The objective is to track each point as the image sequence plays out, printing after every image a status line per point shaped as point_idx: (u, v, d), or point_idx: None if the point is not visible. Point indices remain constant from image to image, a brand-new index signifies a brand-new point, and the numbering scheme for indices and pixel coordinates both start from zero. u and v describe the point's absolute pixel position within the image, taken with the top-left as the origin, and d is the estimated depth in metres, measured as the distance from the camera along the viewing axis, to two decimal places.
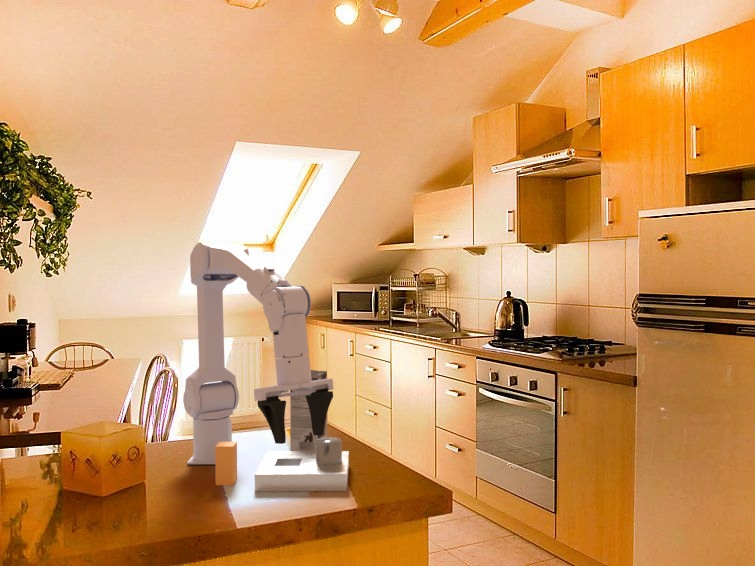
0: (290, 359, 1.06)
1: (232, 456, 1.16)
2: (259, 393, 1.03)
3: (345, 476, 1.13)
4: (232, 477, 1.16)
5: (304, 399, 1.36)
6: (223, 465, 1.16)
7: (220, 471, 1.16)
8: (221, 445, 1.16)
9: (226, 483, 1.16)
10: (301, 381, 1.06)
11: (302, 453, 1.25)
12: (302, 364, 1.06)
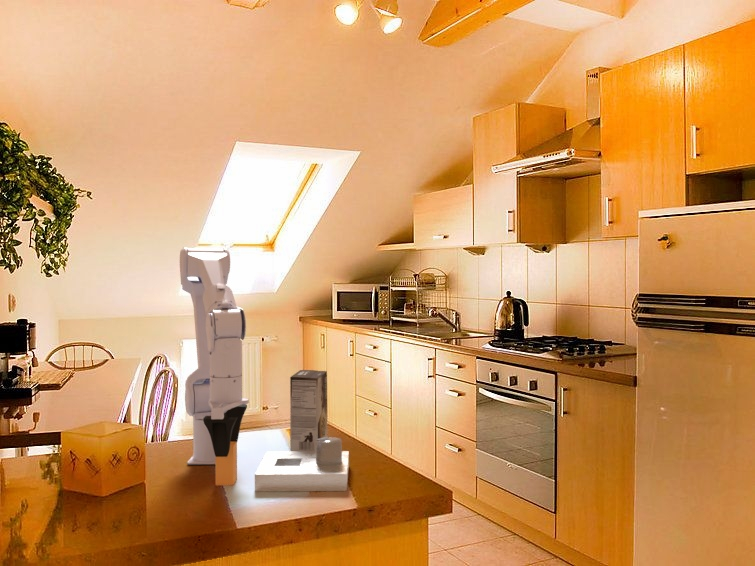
0: (236, 379, 1.15)
1: (232, 456, 1.16)
2: (220, 412, 1.10)
3: (345, 476, 1.13)
4: (232, 477, 1.16)
5: (304, 399, 1.36)
6: (223, 465, 1.16)
7: (220, 471, 1.16)
8: None
9: (226, 483, 1.16)
10: (241, 398, 1.17)
11: (302, 453, 1.25)
12: (241, 382, 1.17)
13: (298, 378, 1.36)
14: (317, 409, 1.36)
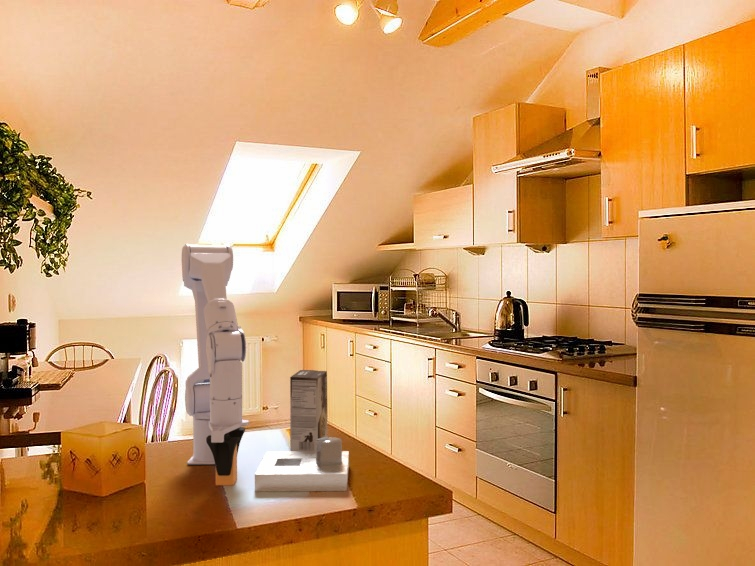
0: (236, 401, 1.15)
1: None
2: (220, 435, 1.10)
3: (345, 476, 1.13)
4: (232, 477, 1.16)
5: (304, 399, 1.36)
6: None
7: None
8: None
9: (226, 483, 1.16)
10: (241, 420, 1.17)
11: (302, 453, 1.25)
12: (241, 404, 1.17)
13: (298, 378, 1.36)
14: (317, 409, 1.36)
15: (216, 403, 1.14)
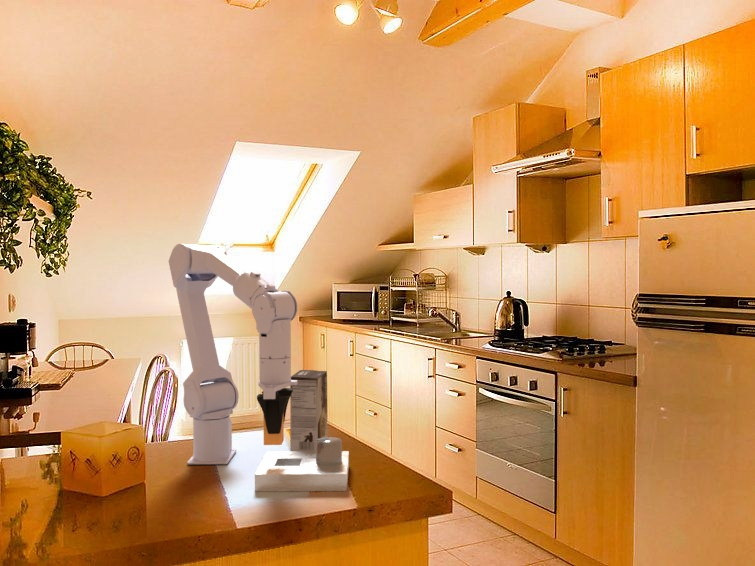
0: (285, 360, 1.17)
1: None
2: (272, 392, 1.11)
3: (345, 476, 1.13)
4: (280, 437, 1.17)
5: (304, 399, 1.36)
6: None
7: None
8: None
9: (274, 443, 1.17)
10: (290, 379, 1.18)
11: (302, 453, 1.25)
12: (290, 364, 1.18)
13: (298, 378, 1.36)
14: (317, 409, 1.36)
15: (266, 362, 1.16)
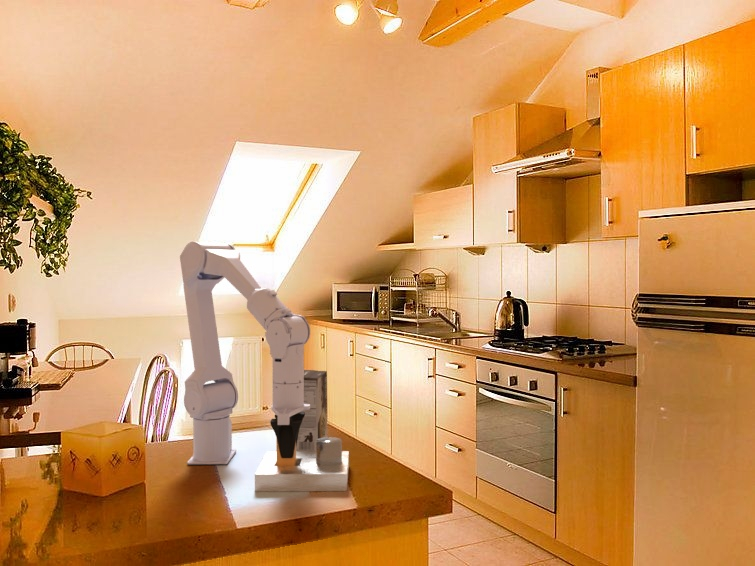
0: (299, 385, 1.17)
1: None
2: (286, 418, 1.12)
3: (345, 476, 1.13)
4: (293, 461, 1.18)
5: (304, 399, 1.36)
6: None
7: None
8: None
9: None
10: (303, 404, 1.19)
11: (302, 453, 1.25)
12: (303, 388, 1.19)
13: None
14: (317, 409, 1.36)
15: (280, 387, 1.17)
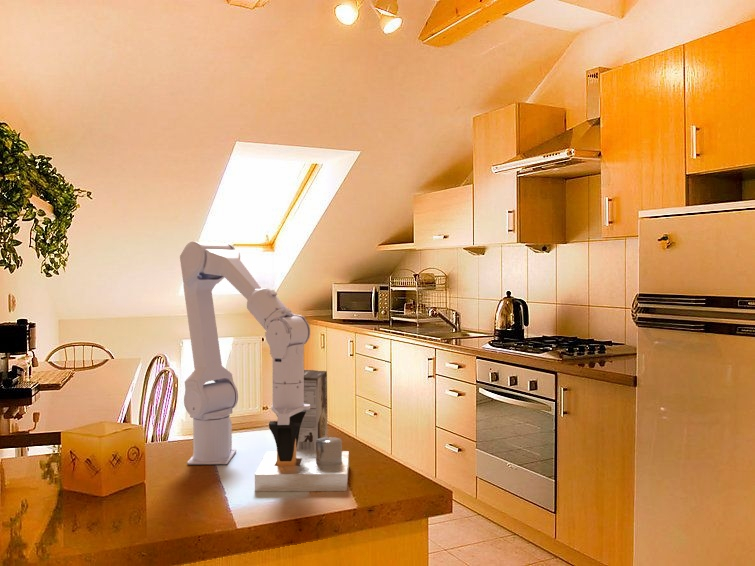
0: (299, 385, 1.17)
1: (293, 453, 1.18)
2: (287, 418, 1.12)
3: (345, 476, 1.13)
4: None
5: (304, 399, 1.36)
6: (285, 461, 1.18)
7: None
8: None
9: None
10: (303, 404, 1.19)
11: (302, 453, 1.25)
12: (303, 388, 1.19)
13: None
14: (317, 409, 1.36)
15: (280, 387, 1.17)
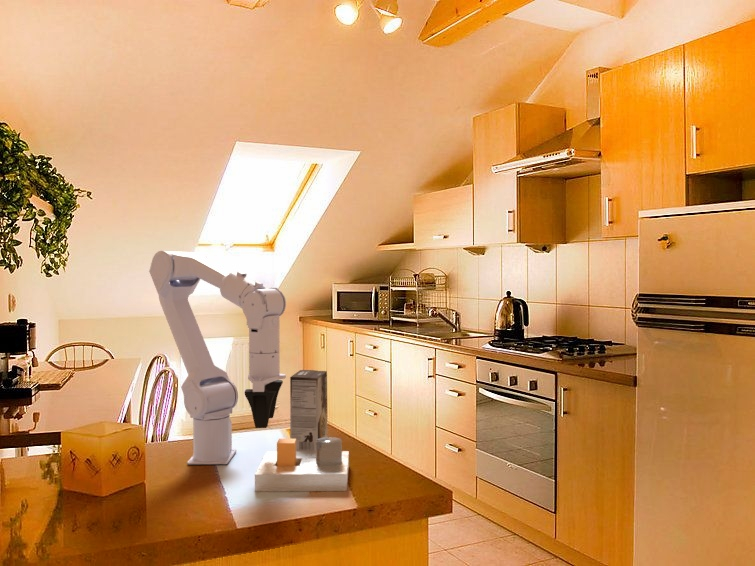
0: (274, 354, 1.21)
1: (293, 453, 1.18)
2: (261, 385, 1.16)
3: (345, 476, 1.13)
4: None
5: (304, 399, 1.36)
6: (285, 461, 1.18)
7: None
8: (282, 442, 1.18)
9: None
10: (278, 373, 1.23)
11: (302, 453, 1.25)
12: (279, 358, 1.23)
13: (298, 378, 1.36)
14: (317, 409, 1.36)
15: (256, 356, 1.20)
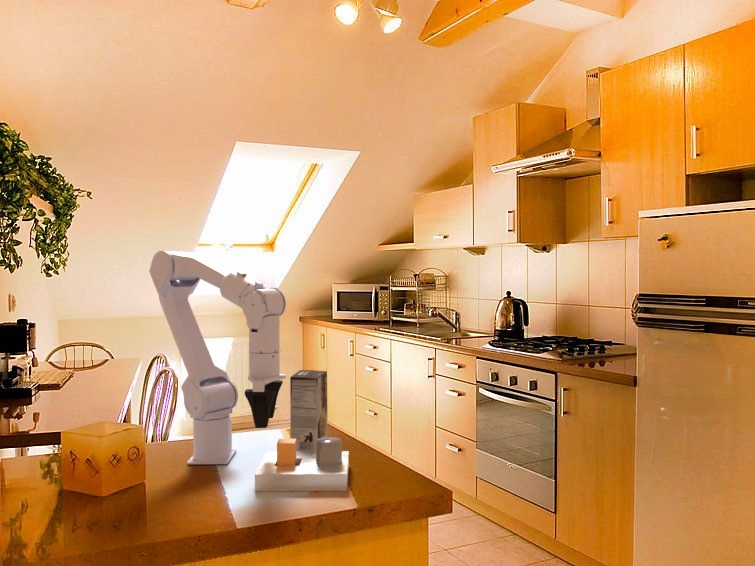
0: (274, 354, 1.21)
1: (293, 453, 1.18)
2: (261, 385, 1.16)
3: (345, 476, 1.13)
4: None
5: (304, 399, 1.36)
6: (285, 461, 1.18)
7: None
8: (282, 442, 1.18)
9: None
10: (278, 373, 1.23)
11: (302, 453, 1.25)
12: (279, 358, 1.23)
13: (298, 378, 1.36)
14: (317, 409, 1.36)
15: (256, 356, 1.20)
